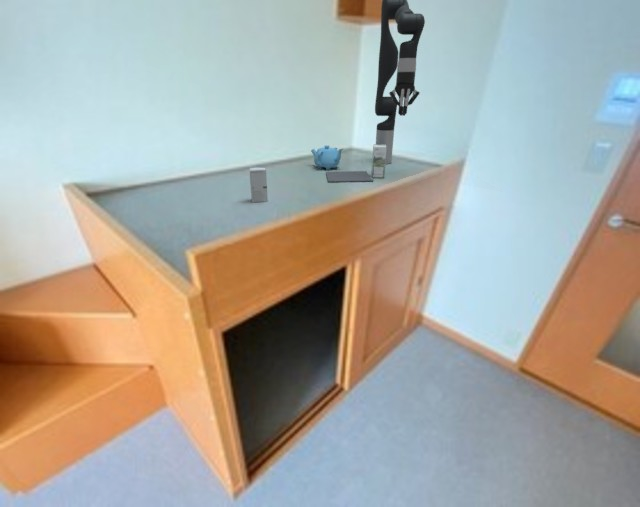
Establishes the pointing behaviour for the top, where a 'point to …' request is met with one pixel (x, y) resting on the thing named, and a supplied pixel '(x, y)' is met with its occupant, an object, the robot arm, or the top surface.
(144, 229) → the top surface
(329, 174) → the mat
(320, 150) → the teapot
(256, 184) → the skincare box
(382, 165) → the syrup box
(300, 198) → the top surface
